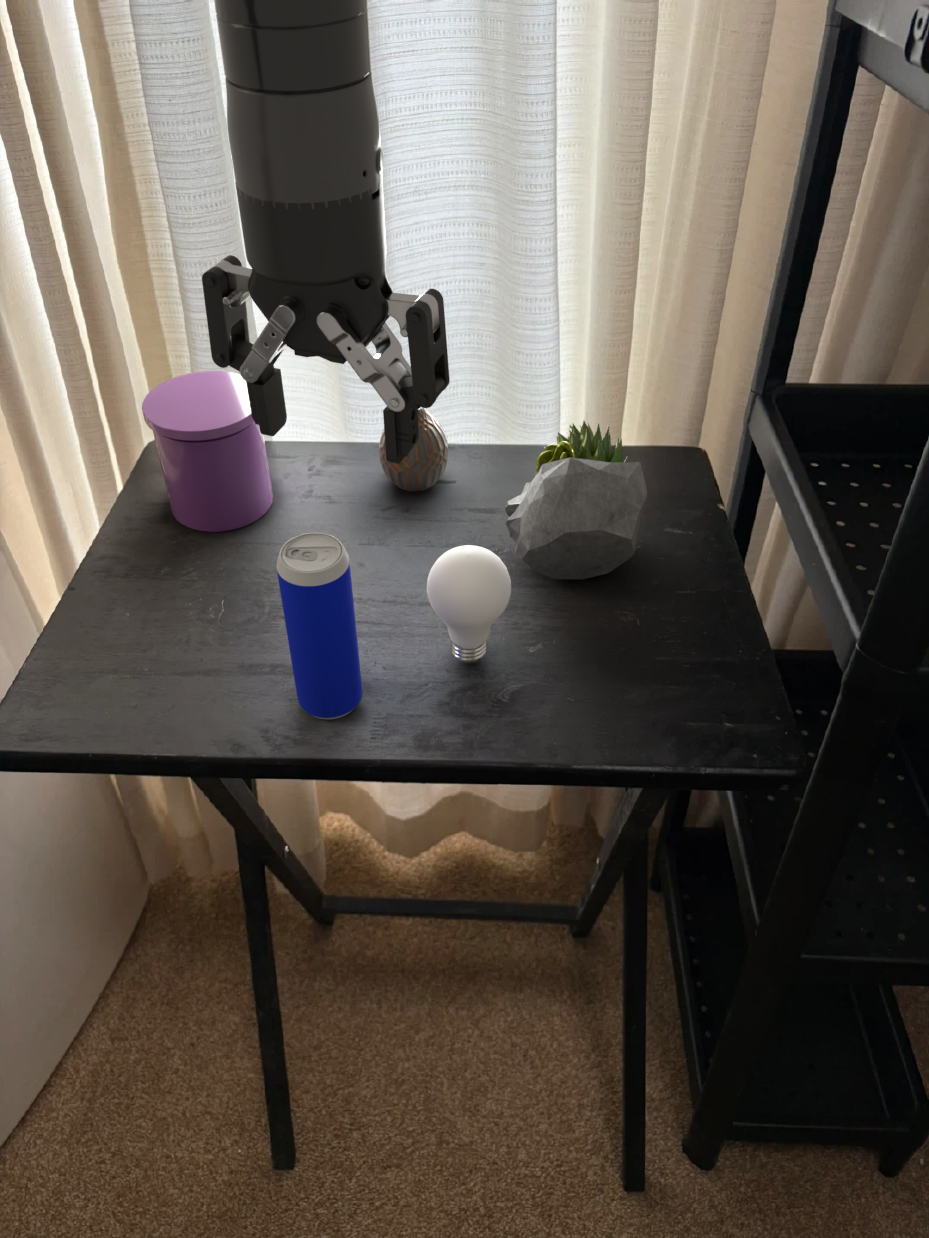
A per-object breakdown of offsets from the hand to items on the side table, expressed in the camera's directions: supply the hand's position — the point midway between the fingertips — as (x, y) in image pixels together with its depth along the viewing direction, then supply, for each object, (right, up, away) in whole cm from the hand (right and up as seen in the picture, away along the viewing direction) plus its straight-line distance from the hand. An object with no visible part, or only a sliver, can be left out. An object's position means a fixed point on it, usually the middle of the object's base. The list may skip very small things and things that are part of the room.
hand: (336, 442), depth 64 cm
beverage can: (-3, -17, +19) cm, 26 cm away
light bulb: (+8, -14, +23) cm, 28 cm away
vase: (+3, +3, +42) cm, 42 cm away
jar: (-16, +1, +39) cm, 43 cm away
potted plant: (+18, -4, +34) cm, 38 cm away
